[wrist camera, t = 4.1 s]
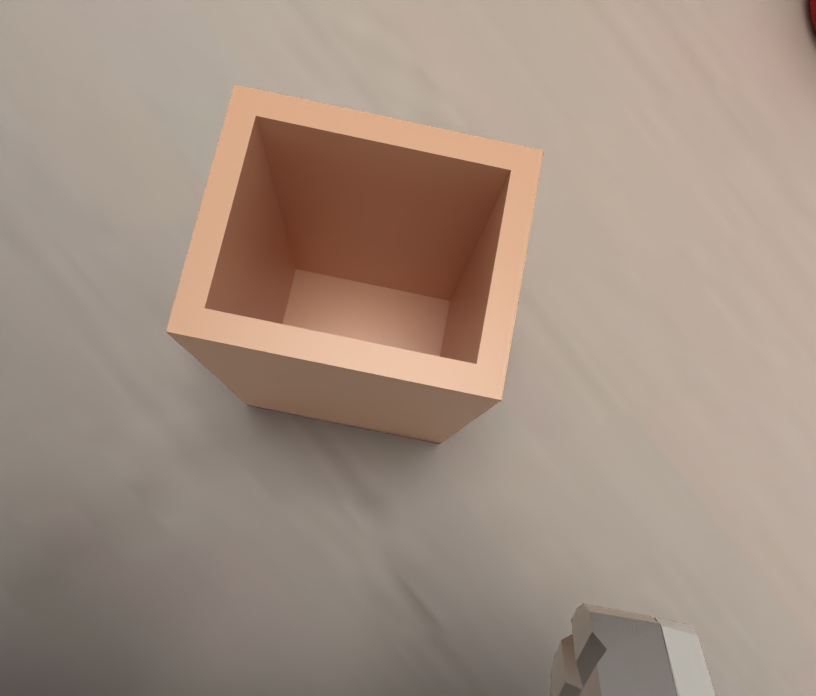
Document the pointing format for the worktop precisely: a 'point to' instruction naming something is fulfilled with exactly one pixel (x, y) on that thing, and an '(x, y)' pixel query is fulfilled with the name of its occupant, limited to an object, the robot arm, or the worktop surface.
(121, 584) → the worktop surface
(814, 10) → the canned food
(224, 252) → the small crate
